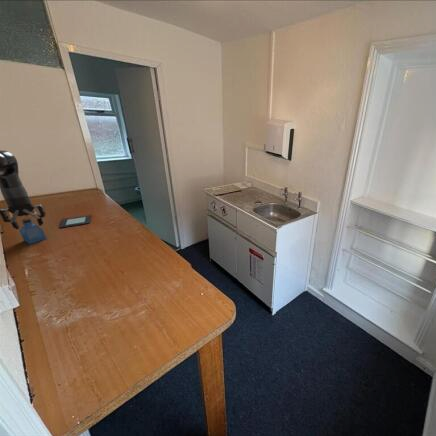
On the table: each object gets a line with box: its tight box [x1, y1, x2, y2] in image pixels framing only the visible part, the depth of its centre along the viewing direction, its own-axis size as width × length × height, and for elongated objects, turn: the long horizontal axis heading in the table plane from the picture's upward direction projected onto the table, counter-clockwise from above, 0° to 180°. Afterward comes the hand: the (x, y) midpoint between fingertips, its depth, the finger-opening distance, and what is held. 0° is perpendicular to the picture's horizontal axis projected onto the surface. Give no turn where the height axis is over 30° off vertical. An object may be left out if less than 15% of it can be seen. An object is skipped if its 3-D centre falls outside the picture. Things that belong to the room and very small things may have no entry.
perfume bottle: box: [19, 217, 47, 245], centre depth 115 cm, size 6×6×12 cm
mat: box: [59, 215, 92, 229], centre depth 139 cm, size 13×13×1 cm
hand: (29, 226), depth 115 cm, fingers open, 7 cm apart
